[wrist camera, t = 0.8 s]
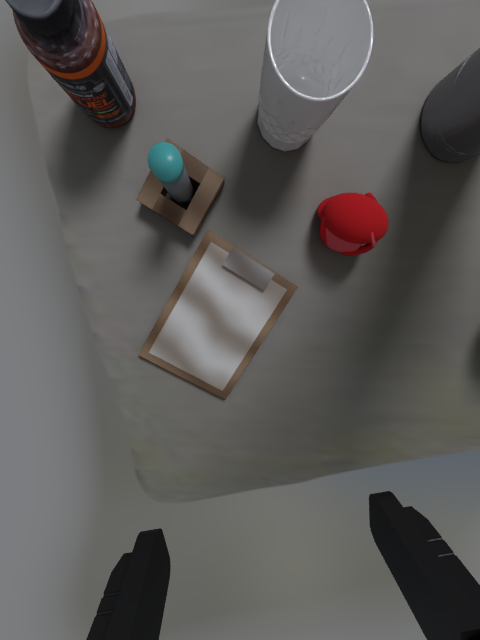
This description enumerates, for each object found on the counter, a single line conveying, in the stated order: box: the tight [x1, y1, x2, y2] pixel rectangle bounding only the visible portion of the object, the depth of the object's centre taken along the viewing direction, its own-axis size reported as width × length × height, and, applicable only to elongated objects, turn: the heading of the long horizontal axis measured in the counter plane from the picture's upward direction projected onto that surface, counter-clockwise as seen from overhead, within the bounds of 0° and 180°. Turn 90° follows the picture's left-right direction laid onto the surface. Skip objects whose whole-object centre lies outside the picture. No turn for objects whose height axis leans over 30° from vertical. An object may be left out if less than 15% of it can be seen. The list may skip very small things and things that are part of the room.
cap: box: [317, 193, 388, 256], centre depth 28 cm, size 8×6×6 cm
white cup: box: [257, 0, 373, 151], centre depth 23 cm, size 8×8×10 cm
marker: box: [148, 142, 193, 203], centre depth 24 cm, size 3×3×9 cm
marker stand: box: [136, 139, 225, 237], centre depth 28 cm, size 7×7×2 cm
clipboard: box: [138, 230, 297, 399], centre depth 31 cm, size 18×13×1 cm
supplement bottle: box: [6, 0, 136, 128], centre depth 21 cm, size 6×6×11 cm
